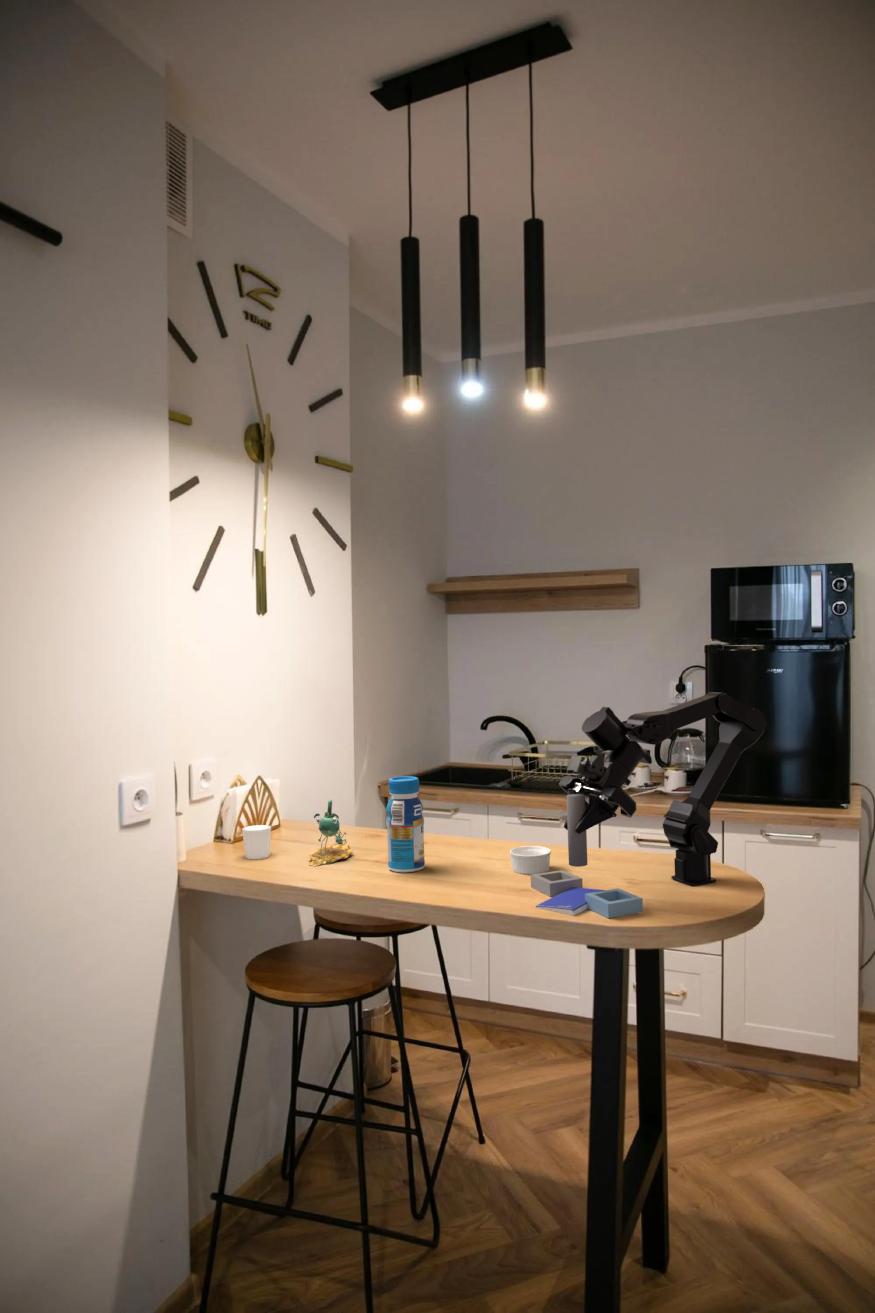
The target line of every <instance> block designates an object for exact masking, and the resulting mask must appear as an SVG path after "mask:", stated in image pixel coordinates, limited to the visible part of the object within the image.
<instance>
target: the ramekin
mask: <svg viewBox="0 0 875 1313" xmlns="http://www.w3.org/2000/svg"><path fill="white" fill-rule="evenodd" d="M551 854H552V850H551V849H550V848H548V847H545V846H541V845H524V846H516V847H514V848H512V849H510V850H509V855H510V861H511V868H512V871H513V872H515V873H516V874H520V875H530V876H531V875H533V874H540V873H546V872H549V870H550V863H551Z"/></svg>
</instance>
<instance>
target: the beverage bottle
mask: <svg viewBox="0 0 875 1313" xmlns="http://www.w3.org/2000/svg"><path fill="white" fill-rule="evenodd" d="M388 792H389V795H391V796H390V799H389V800H388V803H387V805H386V808H385V811H386V813H387V816H386V819H385V826H386V835H387V836H386V837H387V868H388V869H389V870H390V871H392V872H396V873H413V872H418V871H421V870H422V869H424V868H425V865H426V861H425V837H424V836H425V835H424V834H425V831H424V830H425V829H424V828H425V827H424V824H425V819H424V816H423V810H424V807H423V803H422V801H421V799H420V798H419V796H418V795H417V794H419V793H420V781H419V777H416V776H409V775H408V776H407V775H406V776H393V777H391V778H389V779H388Z"/></svg>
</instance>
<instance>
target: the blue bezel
mask: <svg viewBox="0 0 875 1313" xmlns="http://www.w3.org/2000/svg"><path fill="white" fill-rule="evenodd" d="M604 890H605V891H599V892H593V893H587V894H585V901H587V905H588V908H587V909H588V910H590V911H592V912H593V913H596V914H598V915H600V916H602V917H604V918H606V919H612V918H618V917H624V916H629V915H634V914H640V913H643V912H644V908H643V907H644V906H643V905H644V902H643V897H640V896H638V895H636V894H633V893H630V892H629V891H626V890H623V889H621V888H612V889H607V890H606V889H604ZM587 909H586V910H587Z"/></svg>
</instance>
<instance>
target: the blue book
mask: <svg viewBox="0 0 875 1313" xmlns="http://www.w3.org/2000/svg"><path fill="white" fill-rule="evenodd" d="M605 890H606V889H599V888H589V887H583V888H576V887H573V888H570V889H568V890H566V891H564V892H562V893H560V894H558V895H556V896H551V897H550V898H549V899H546V900H545V901H542V902H540V903H538V904H537V905H535V909H539V910H544V911H549V912H553V913H559V914H563V915H566V916H567V915H569V916H572V917H573V916H576V915H578V914H580V913H582V912H584V911H586V910H587V908H588V905H587V901H585V894H587V893H593V892H599V891H605Z"/></svg>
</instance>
